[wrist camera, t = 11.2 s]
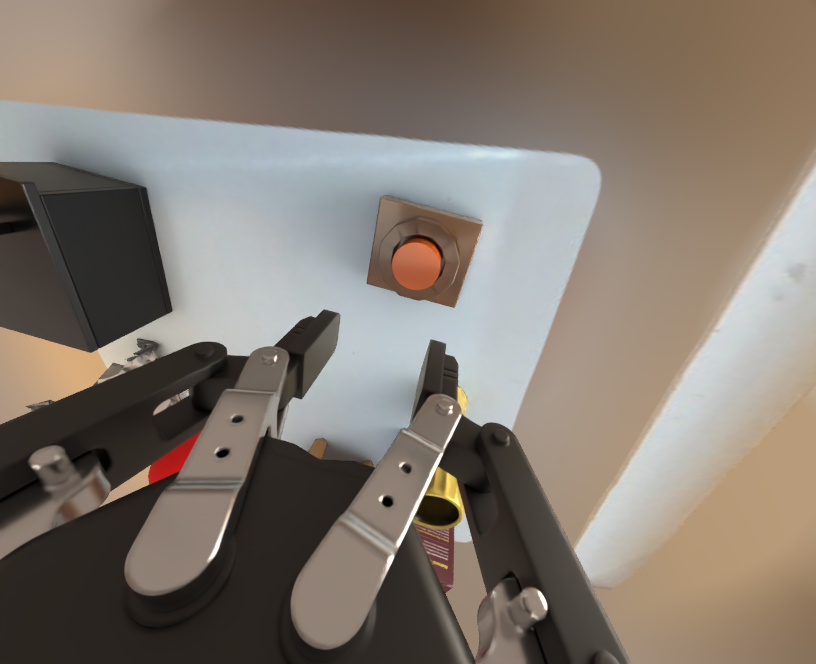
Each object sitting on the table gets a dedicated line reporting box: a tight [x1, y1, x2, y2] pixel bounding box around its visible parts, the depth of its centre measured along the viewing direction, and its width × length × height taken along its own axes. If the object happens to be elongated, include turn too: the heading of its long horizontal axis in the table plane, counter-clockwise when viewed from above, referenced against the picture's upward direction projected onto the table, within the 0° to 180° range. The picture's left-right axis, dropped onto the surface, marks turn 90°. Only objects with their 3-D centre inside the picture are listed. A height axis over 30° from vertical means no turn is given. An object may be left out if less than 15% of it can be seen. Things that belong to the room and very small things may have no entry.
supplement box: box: [394, 429, 454, 593], centre depth 36 cm, size 9×5×16 cm, turn 68°
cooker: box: [0, 162, 172, 348], centre depth 30 cm, size 15×10×9 cm
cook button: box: [392, 238, 441, 290], centre depth 25 cm, size 4×4×2 cm
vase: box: [413, 387, 467, 529], centre depth 31 cm, size 6×6×14 cm
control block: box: [367, 195, 483, 308], centre depth 27 cm, size 8×9×4 cm
